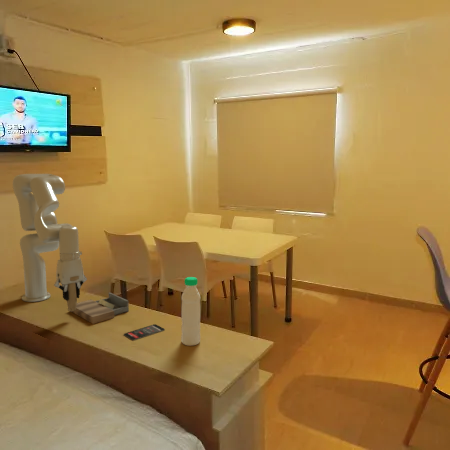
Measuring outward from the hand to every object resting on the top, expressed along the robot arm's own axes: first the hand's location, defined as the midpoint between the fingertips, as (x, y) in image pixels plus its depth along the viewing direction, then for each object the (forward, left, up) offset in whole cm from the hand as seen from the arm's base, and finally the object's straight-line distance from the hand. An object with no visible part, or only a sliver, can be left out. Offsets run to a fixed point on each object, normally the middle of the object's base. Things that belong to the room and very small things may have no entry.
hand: (71, 298), depth 173 cm
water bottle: (+51, +22, -10) cm, 56 cm away
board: (0, +9, -10) cm, 13 cm away
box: (0, +18, -10) cm, 21 cm away
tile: (-1, +16, -8) cm, 17 cm away
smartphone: (+31, +15, -10) cm, 36 cm away
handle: (0, 0, -5) cm, 5 cm away
